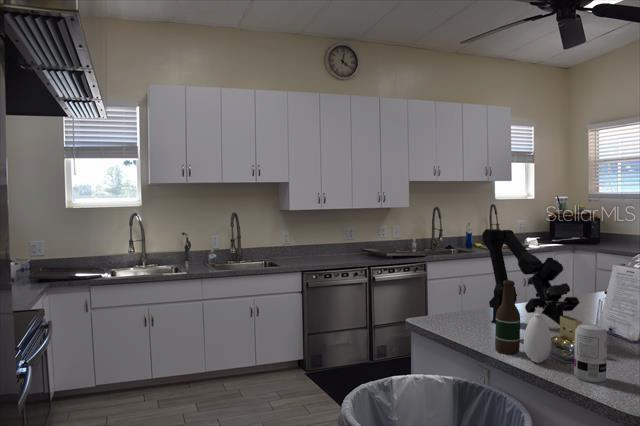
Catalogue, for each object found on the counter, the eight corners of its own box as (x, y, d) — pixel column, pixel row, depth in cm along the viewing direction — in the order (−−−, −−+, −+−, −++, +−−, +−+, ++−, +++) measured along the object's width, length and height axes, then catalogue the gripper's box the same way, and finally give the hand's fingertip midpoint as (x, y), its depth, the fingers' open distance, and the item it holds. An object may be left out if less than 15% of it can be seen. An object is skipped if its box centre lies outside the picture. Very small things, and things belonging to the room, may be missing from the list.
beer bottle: (519, 349, 174) (520, 279, 173) (520, 356, 167) (521, 283, 166) (495, 346, 177) (496, 278, 176) (495, 353, 169) (496, 281, 168)
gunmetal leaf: (550, 353, 168) (551, 343, 168) (574, 352, 170) (575, 341, 170) (565, 360, 161) (565, 349, 161) (590, 359, 163) (590, 348, 163)
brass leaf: (550, 344, 177) (551, 316, 177) (565, 343, 178) (566, 315, 178) (566, 351, 169) (567, 322, 169) (581, 350, 170) (582, 321, 170)
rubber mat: (516, 340, 185) (516, 339, 184) (553, 338, 187) (553, 337, 187) (564, 364, 159) (564, 363, 159) (605, 361, 162) (605, 360, 162)
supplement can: (568, 373, 151) (569, 323, 150) (594, 372, 152) (595, 323, 151) (584, 383, 143) (586, 330, 142) (612, 383, 143) (614, 330, 143)
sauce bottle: (518, 360, 162) (519, 304, 162) (534, 356, 166) (535, 302, 166) (539, 367, 156) (540, 309, 155) (555, 363, 160) (557, 306, 159)
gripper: (530, 276, 180) (549, 314, 170) (577, 274, 184) (598, 312, 174) (517, 293, 188) (534, 331, 178) (561, 291, 192) (581, 328, 182)
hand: (562, 325), depth 178 cm, fingers closed, pressing on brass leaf
